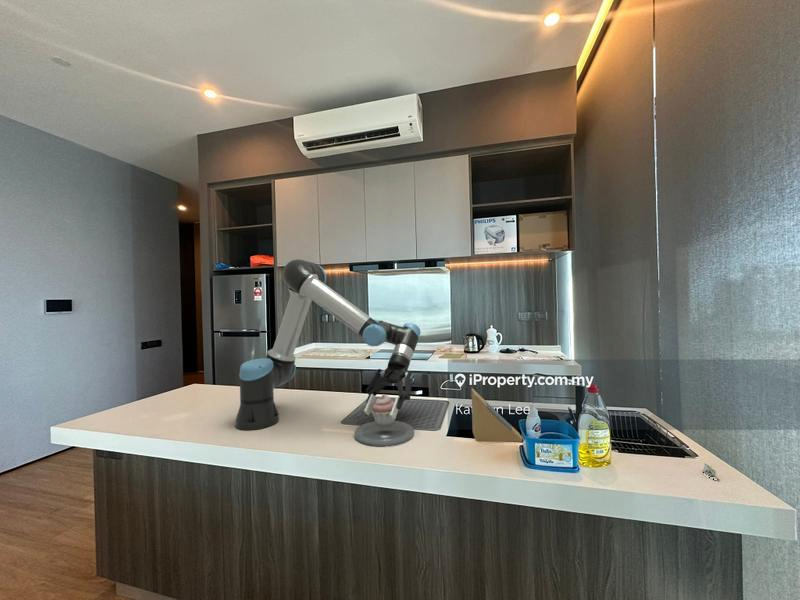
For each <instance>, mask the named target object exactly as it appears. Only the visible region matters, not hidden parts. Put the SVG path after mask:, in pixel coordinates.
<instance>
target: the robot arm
mask: <svg viewBox="0 0 800 600" xmlns="http://www.w3.org/2000/svg"><path fill="white" fill-rule="evenodd" d="M282 279H283V281H284V283H285V284H286V285H287V287H288V291H289V293H290V296H289V299H288V302H287V304H286V308H285V310H284V314H283V317H282V320H281V323H280V326H279V329H278V332H277V336H276V337H275V338H276V339H275V341H274V344H273V347H272V348H271V349H269V350H268V351H267V353H266V356H265V358H263V357H262V358H255V359H251V360H248V361H244V363H242V364H241V365H240V368H239V375H238V376H239V398H240V399H239V401H240V404H239V408H238V411H237V414H236V417H235V424H234V425H235V428H236V429H239V430H241V431H251V430H252V431H253V430H255V431H256V430H261V429H264V428H268V427H271V426H273V425H276V424H277V423H278V422H279V421H280V419H279V418H280V416H279V415H280V413H279V412H278V409H277V406H276V403H275V400H274V393H275V392H274V389H276V388H278V387H280V386H284V385H286V384H287V383H288V382H290V381H291V380H292V379H293V378H294V377H295V374H296V371H297V370H296V369H297V365H296V364H295V363H296V359H297V358H296V356H295V354H294V353H295V351H296V348H297V346H298V345H297V344H298V342H299V339H300V336H301V332H302V330H303V327H304V323H305V320H306V318H307V314H308V312H309V308H310V306H311V303H312V302H314V303H315V304H317V305H318V306H319V307H320V308H321V309H323V310H324V311H326V312H327V313H329V314H330V315H332V316H333V317H334V318H335V319H337V320H338V321H339V322H341V323H342V324H344V325H345V326H346V327H348V328H349V329H351V330H352V331H353V332H354V333H356V334H358V336H360V337H362V339H363V341H364V343H365V344H366V345H367V346H370V347H379V346H381V345H382V344H384V343H388V344H391V345H394V347H393V350H392V353H391V356H390V358H389V360H388V361H387V362H388V363H387V367H386V368H385V369H381V368H378V369H377V372H376V374H375V376H374V377H373V378H372V380H371V382H370V383H369V384H368V386H367V387H366V388H365V393H367V395H368V396H367V399H366V401H365V403H366V406H365V407H364V410H363V412H364V413H365V414H366V415H367V416H370V414H371V413H372V412H371V410H372V408H373V404H374V403H375V402H376V400H377V398H376V396H377V394H379V393H380V392H381V391H382V390H383V388H385V387H386V386H387V385H389V384H390V383H395V384H396V385H397V393H398V396H396V397H395V399H394V405H393V408H392V411H391V414H390V416H391V417H392V418H393V419H395V420H396V418H397V414H398V412H399V410H401V409H402V407H403V404H404V401H406V400H407V401H410V400H411V393H412V392H411V391H412V381H413V379H414V374H413V372H412V371H409V366H410V365H411V364H410V363H411V362H412V358H413V355H414V354H415V353H414V352H415V350H416V347H417V345H418V343H419V339H420V336H421V329H420V327H419V326H418V325H417V324H415V323H412V322H406V323H404V324H403V325H402V326H401V325H400V326H399V325H397V324H392V323H390V322H386V321H384V320H382V319H381V320H380V319H373V318H372V317H371V316H369V315H368V314H367V313H365V312H364V311H363V310H361V309H360V308H359V307H357V306H356V305H354V304H353V303H352V302H350V301H349V300H347V299H346V298H344V297H343V296H342V295H341V294H339V293H337V292H336V291H335V290H333V289H332V288H331V287H329V286H328V285H327V284H326V283H327V275H326V271H325V270H324V268H323V267H322V266H321V265H319V264H318V263H315V262H312V261H308V260H304V259H292V260H290V261H289V262H287V263H286V264H285V266H283V270H282ZM404 378H405V385H404V386H403V379H404Z"/></svg>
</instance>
